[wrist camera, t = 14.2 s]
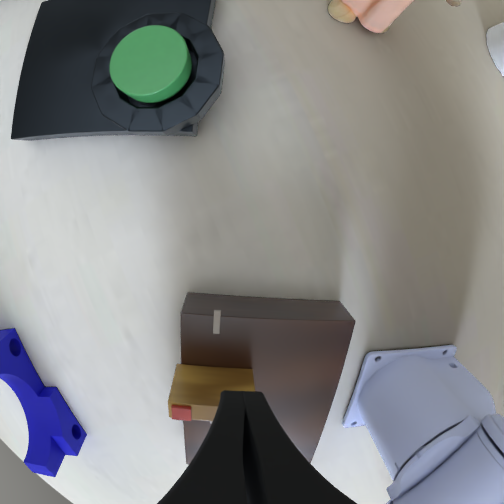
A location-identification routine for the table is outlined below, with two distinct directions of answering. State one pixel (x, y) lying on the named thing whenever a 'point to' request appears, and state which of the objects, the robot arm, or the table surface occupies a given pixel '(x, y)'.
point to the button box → (98, 70)
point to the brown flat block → (271, 356)
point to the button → (151, 64)
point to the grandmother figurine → (372, 12)
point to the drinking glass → (496, 45)
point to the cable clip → (39, 409)
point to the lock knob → (204, 390)
